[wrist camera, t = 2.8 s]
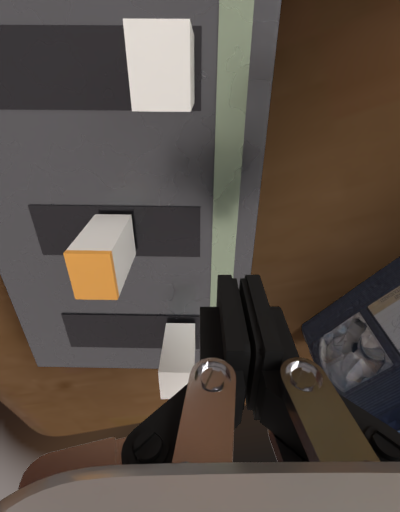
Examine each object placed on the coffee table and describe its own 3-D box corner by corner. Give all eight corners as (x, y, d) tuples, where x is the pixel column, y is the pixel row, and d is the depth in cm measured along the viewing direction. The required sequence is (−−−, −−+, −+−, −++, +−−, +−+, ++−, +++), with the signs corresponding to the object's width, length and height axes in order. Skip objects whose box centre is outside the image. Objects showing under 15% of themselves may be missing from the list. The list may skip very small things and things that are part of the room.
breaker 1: (194, 35, 12) (189, 19, 9) (194, 103, 14) (190, 112, 10) (145, 34, 12) (122, 18, 9) (150, 102, 14) (132, 111, 10)
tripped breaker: (131, 214, 16) (109, 254, 13) (136, 253, 18) (117, 300, 14) (95, 214, 16) (63, 253, 13) (102, 253, 18) (75, 299, 14)
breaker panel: (272, -30, 14) (288, -55, 11) (236, 341, 26) (240, 371, 23) (-71, -31, 14) (-137, -56, 11) (54, 338, 26) (37, 367, 24)
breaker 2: (195, 323, 21) (193, 372, 17) (195, 349, 22) (193, 399, 18) (165, 323, 21) (158, 372, 17) (167, 348, 22) (160, 399, 18)
